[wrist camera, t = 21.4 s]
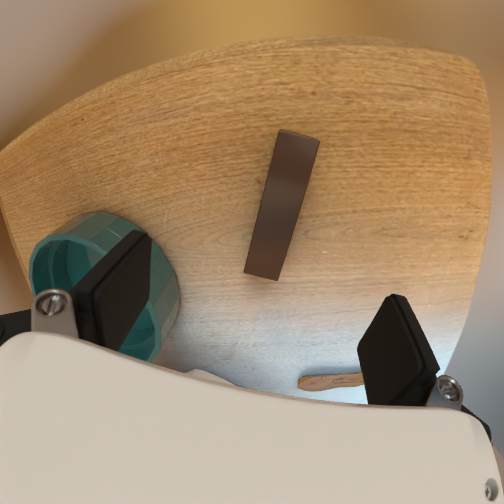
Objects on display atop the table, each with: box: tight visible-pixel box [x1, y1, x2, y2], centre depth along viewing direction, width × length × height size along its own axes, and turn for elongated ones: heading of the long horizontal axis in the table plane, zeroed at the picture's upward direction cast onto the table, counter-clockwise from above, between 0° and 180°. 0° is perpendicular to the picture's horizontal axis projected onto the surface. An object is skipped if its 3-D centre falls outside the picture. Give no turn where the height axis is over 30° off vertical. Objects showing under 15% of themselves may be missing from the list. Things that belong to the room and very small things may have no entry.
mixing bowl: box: [29, 211, 180, 363], centre depth 28 cm, size 17×17×6 cm
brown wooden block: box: [244, 129, 320, 281], centre depth 23 cm, size 12×3×4 cm, turn 167°
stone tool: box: [298, 372, 364, 391], centre depth 33 cm, size 5×2×15 cm
